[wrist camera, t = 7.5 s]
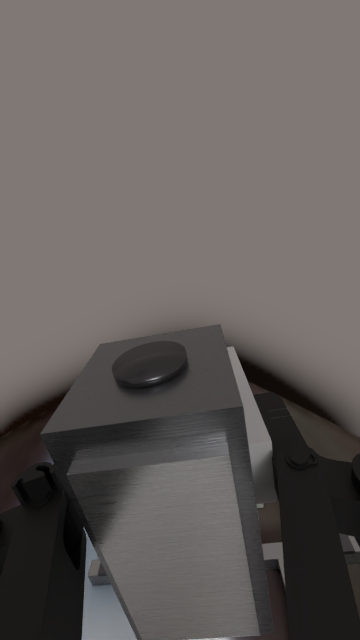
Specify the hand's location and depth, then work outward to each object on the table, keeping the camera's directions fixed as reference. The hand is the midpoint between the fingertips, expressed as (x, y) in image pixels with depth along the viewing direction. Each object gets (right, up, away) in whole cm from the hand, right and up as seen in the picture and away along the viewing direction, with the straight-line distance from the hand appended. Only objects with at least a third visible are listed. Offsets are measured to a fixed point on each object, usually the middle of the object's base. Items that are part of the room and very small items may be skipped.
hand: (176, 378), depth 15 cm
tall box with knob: (+1, -7, -3) cm, 8 cm away
